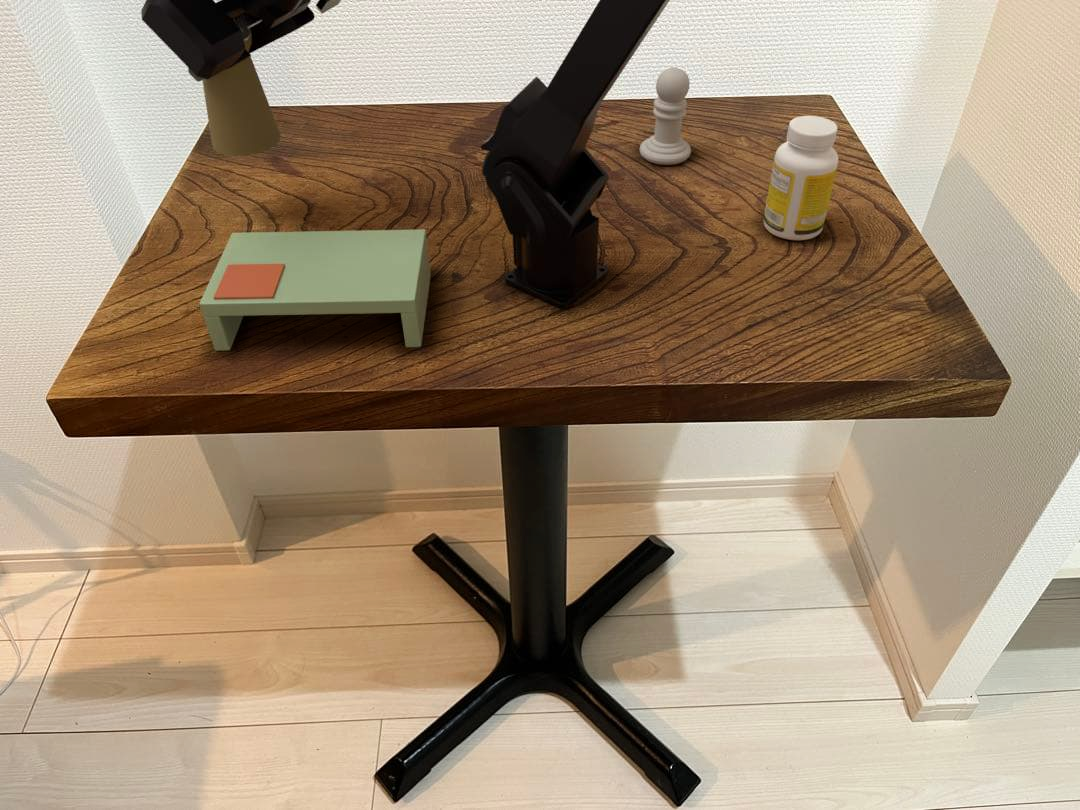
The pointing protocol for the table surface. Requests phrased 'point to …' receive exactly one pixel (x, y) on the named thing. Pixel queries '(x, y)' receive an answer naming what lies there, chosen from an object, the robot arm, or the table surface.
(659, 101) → the chess piece
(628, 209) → the table surface
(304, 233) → the shelf
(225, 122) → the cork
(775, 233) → the supplement bottle
